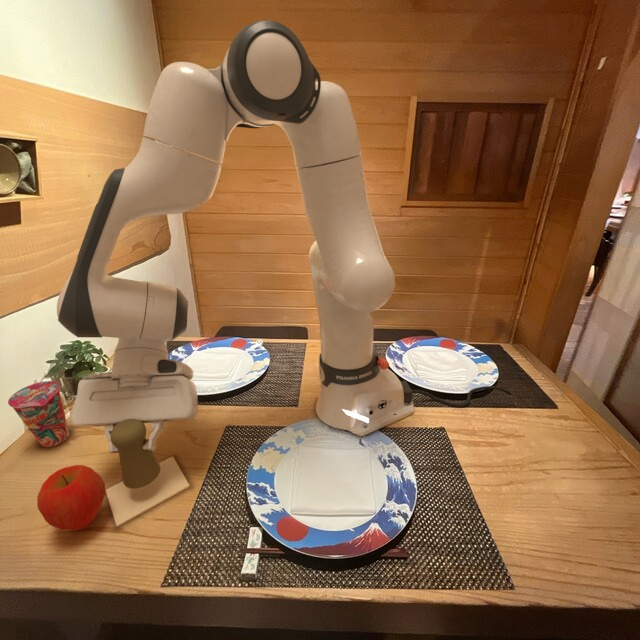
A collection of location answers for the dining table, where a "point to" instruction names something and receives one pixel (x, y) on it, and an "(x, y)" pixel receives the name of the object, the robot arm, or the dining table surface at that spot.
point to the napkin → (146, 493)
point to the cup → (42, 412)
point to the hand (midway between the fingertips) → (132, 451)
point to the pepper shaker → (134, 454)
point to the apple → (71, 497)
